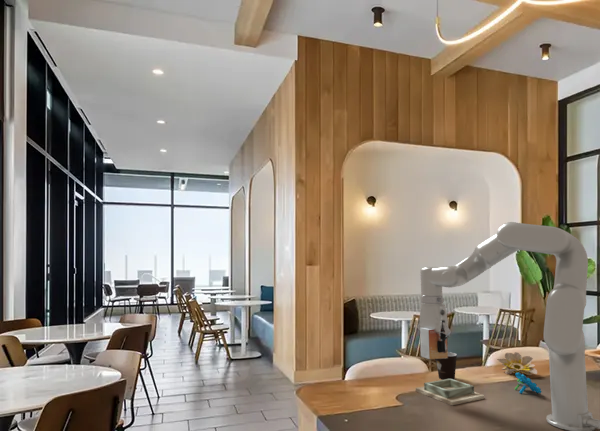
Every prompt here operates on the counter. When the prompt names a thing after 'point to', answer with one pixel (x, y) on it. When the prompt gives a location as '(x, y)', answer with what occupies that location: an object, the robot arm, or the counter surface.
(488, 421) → the counter surface
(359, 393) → the counter surface
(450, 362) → the coffee mug
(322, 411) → the counter surface
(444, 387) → the jig
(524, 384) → the gear
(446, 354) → the small box
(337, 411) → the counter surface
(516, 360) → the decorative flower
